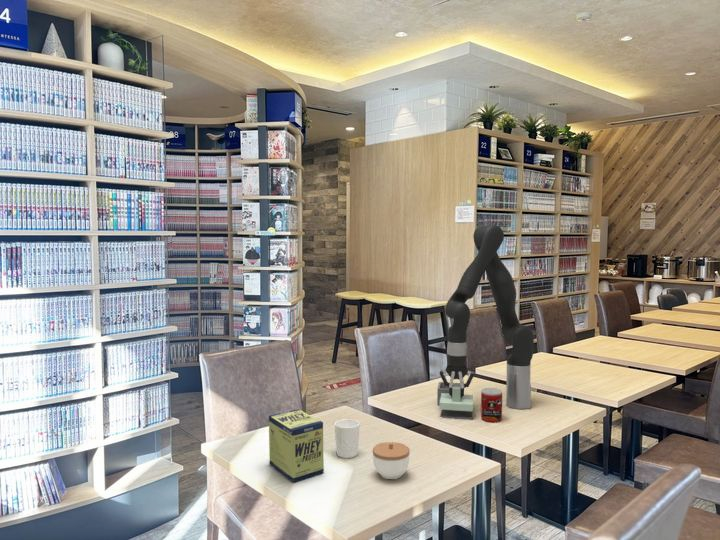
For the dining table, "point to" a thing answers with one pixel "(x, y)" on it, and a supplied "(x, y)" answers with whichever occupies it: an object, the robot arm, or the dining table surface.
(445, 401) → the lid
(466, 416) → the mat
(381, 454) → the lidded jar
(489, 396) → the canned food
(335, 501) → the dining table surface
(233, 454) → the dining table surface
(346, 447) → the white cup
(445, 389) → the tub
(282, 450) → the protein box
